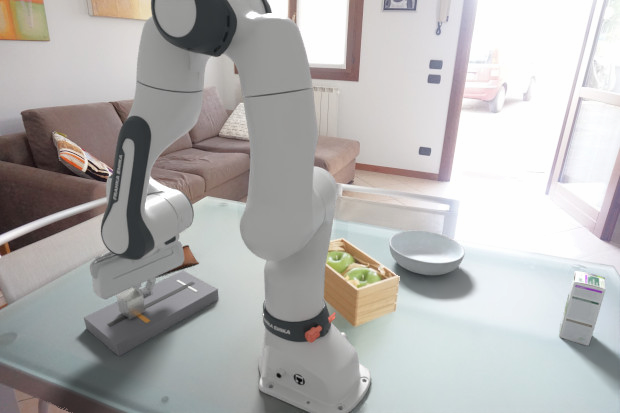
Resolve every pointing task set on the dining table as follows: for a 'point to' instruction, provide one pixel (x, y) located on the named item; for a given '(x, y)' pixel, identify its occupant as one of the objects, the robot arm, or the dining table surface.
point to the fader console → (151, 312)
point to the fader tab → (130, 303)
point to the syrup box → (582, 307)
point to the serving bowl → (426, 252)
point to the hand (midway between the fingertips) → (145, 296)
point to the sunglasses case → (186, 259)
